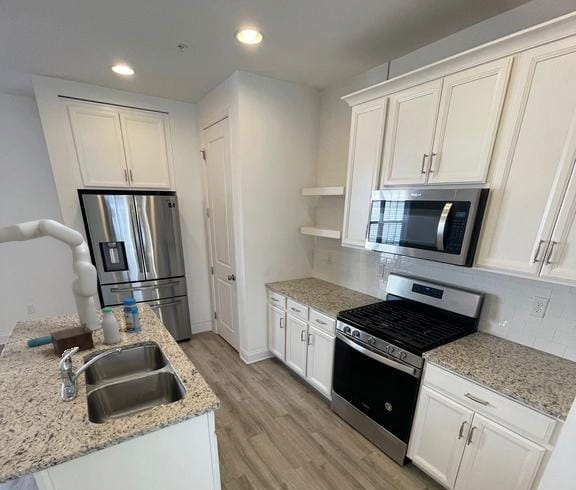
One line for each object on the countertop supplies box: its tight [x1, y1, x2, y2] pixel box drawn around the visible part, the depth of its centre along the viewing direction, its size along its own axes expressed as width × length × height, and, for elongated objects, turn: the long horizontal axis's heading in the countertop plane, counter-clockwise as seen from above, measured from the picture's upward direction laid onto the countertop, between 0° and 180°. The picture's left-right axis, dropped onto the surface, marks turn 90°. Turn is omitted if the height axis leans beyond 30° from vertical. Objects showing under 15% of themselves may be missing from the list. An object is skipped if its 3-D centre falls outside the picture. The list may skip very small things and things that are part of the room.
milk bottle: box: [101, 307, 121, 345], centre depth 174 cm, size 8×8×20 cm
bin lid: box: [49, 320, 94, 341], centre depth 164 cm, size 16×13×5 cm
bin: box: [50, 333, 95, 358], centre depth 166 cm, size 16×13×9 cm
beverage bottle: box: [122, 297, 142, 333], centre depth 192 cm, size 8×8×20 cm
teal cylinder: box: [27, 335, 52, 348], centre depth 171 cm, size 11×4×4 cm, turn 138°
